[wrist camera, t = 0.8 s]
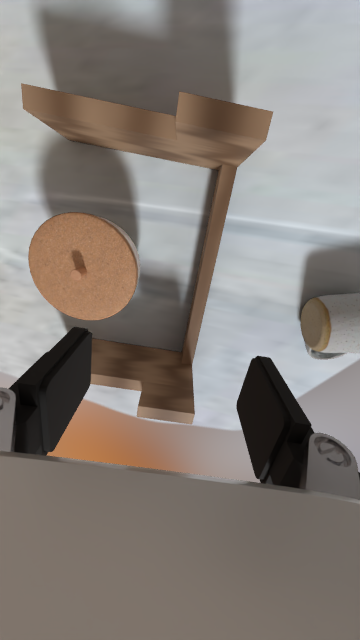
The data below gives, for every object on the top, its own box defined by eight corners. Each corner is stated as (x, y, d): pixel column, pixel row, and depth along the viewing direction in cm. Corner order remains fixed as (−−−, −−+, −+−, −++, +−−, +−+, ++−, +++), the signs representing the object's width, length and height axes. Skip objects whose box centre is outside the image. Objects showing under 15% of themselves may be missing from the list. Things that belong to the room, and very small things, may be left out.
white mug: (300, 289, 32) (332, 310, 25) (363, 284, 31) (414, 304, 24) (291, 355, 36) (317, 390, 29) (347, 352, 36) (387, 386, 29)
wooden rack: (235, 157, 26) (273, 111, 15) (189, 362, 36) (192, 424, 25) (69, 123, 25) (-22, 47, 14) (71, 343, 36) (21, 400, 24)
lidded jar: (46, 242, 30) (-10, 252, 21) (115, 195, 28) (85, 185, 19) (98, 311, 33) (68, 344, 25) (162, 275, 31) (155, 296, 23)
